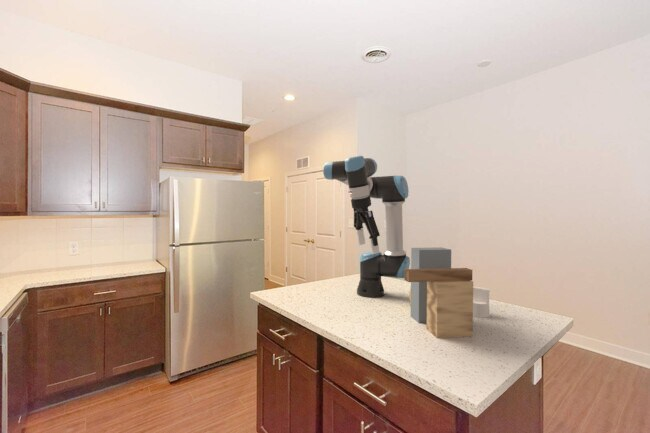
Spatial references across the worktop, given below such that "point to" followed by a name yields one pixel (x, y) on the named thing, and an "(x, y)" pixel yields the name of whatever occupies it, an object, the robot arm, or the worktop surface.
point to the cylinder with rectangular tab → (480, 302)
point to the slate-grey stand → (425, 260)
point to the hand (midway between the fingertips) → (368, 248)
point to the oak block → (450, 308)
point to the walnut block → (438, 274)
